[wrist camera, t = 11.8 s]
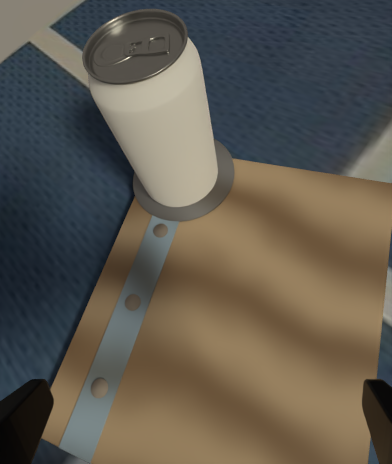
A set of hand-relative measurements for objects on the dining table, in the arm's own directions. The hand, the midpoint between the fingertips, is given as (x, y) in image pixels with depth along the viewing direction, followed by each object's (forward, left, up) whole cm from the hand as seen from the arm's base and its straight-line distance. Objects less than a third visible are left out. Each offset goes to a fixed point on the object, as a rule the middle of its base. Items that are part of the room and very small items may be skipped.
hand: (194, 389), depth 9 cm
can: (+14, +8, -12) cm, 20 cm away
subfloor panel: (+6, +2, -14) cm, 15 cm away
